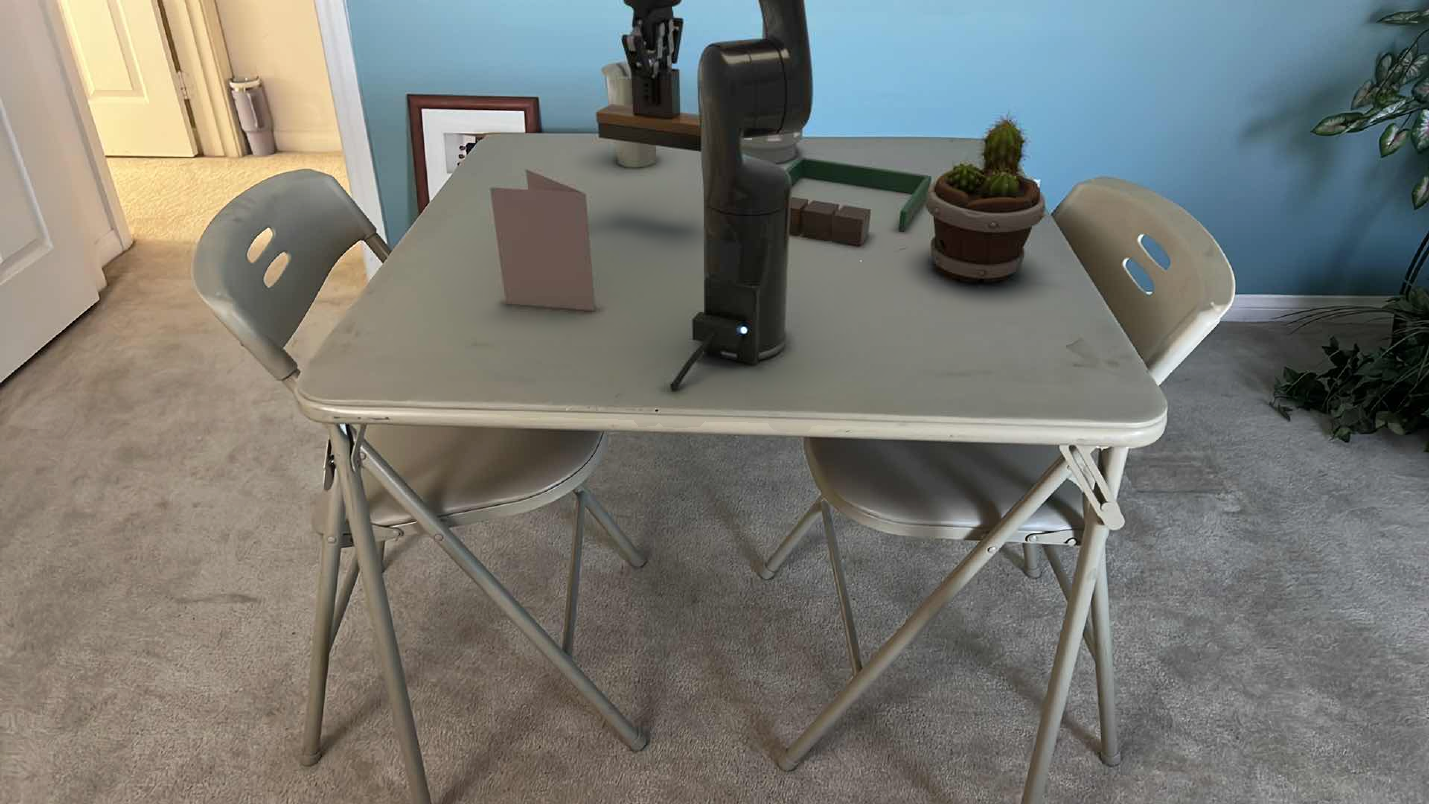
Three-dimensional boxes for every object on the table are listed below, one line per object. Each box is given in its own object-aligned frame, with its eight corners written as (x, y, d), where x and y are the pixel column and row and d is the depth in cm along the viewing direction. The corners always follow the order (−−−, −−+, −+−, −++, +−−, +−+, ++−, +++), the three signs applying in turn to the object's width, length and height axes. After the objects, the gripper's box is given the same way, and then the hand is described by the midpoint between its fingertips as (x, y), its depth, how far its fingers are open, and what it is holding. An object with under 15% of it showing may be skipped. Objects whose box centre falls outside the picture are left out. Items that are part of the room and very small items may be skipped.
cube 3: (797, 235, 133) (799, 209, 131) (771, 231, 135) (772, 204, 133) (807, 225, 137) (808, 199, 134) (781, 221, 138) (782, 195, 136)
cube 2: (828, 241, 132) (830, 214, 130) (801, 236, 133) (803, 209, 131) (837, 230, 135) (839, 204, 133) (811, 226, 136) (812, 199, 134)
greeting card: (600, 308, 115) (591, 191, 107) (551, 329, 111) (538, 209, 103) (544, 279, 122) (531, 167, 114) (496, 297, 118) (479, 182, 109)
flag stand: (811, 162, 159) (821, -31, 142) (736, 168, 156) (738, -27, 140) (789, 138, 169) (797, -44, 153) (719, 143, 167) (719, -41, 150)
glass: (675, 150, 164) (670, -37, 148) (666, 172, 155) (660, -25, 138) (614, 148, 165) (603, -38, 148) (602, 170, 156) (587, -26, 139)
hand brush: (705, 152, 125) (704, 79, 120) (596, 137, 131) (591, 67, 126) (719, 142, 129) (719, 70, 124) (613, 128, 135) (609, 59, 130)
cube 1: (860, 246, 130) (862, 219, 128) (832, 241, 132) (834, 214, 130) (868, 235, 133) (871, 209, 131) (841, 231, 135) (843, 204, 133)
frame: (903, 231, 135) (905, 211, 133) (763, 208, 142) (764, 189, 140) (929, 194, 147) (931, 175, 145) (798, 174, 154) (799, 156, 152)
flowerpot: (999, 305, 116) (1029, 145, 105) (894, 268, 124) (912, 117, 113) (1052, 267, 125) (1085, 117, 114) (951, 236, 133) (973, 93, 122)
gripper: (649, -46, 124) (654, 87, 134) (597, -30, 114) (606, 113, 123) (701, -43, 122) (702, 93, 131) (652, -26, 111) (657, 120, 121)
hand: (656, 102), depth 127 cm, fingers closed on hand brush, 2 cm apart
